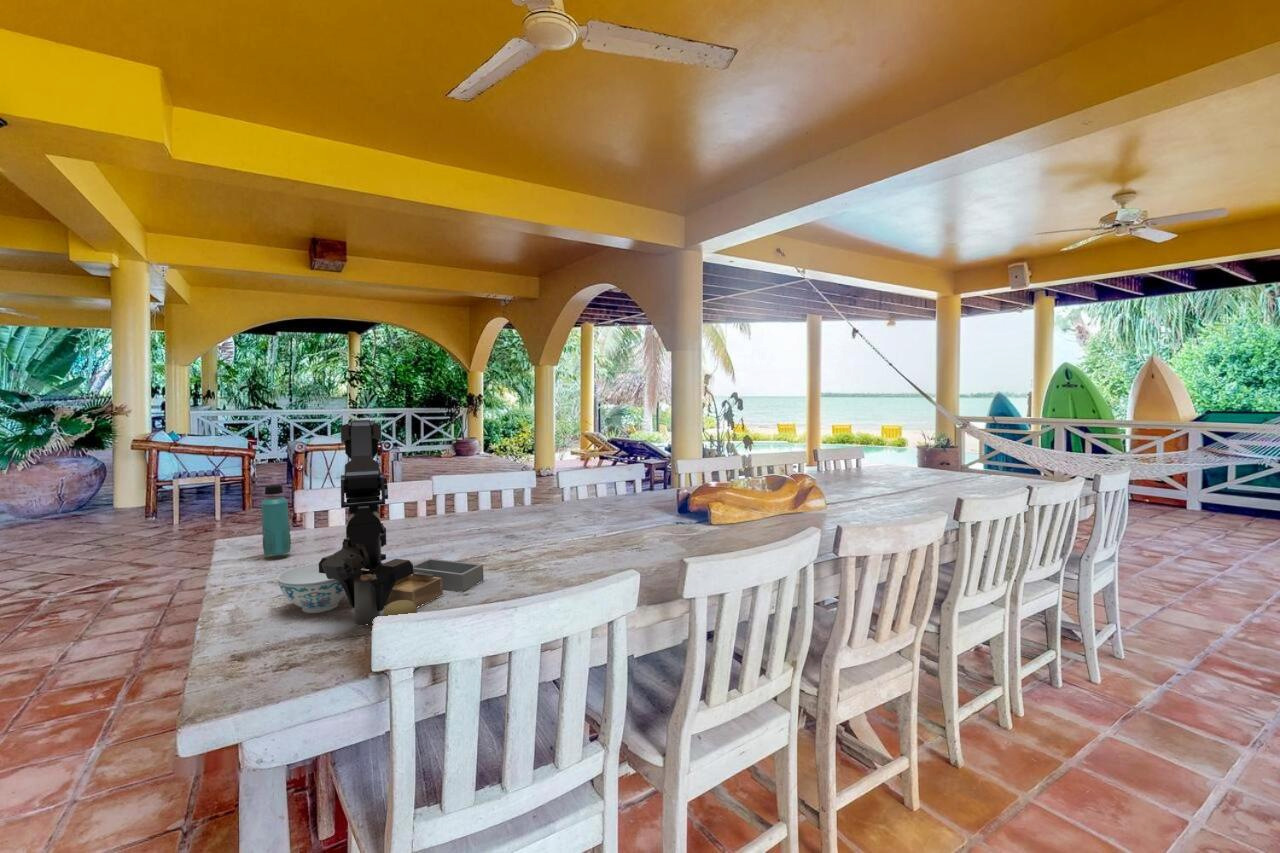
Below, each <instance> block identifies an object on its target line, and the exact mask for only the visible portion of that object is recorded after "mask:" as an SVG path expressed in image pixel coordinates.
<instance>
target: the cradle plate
mask: <svg viewBox="0 0 1280 853" xmlns="http://www.w3.org/2000/svg"><path fill="white" fill-rule="evenodd" d="M427 583H428V582H420V581H413V580H407V581H405V582H402V583H400V584H398V585H396V586H394V587H393V588H397V589H404V590H411V591H412V590H414V589H416V588H418V587H420V586H422V585H425V584H427Z"/></svg>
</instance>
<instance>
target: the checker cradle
mask: <svg viewBox="0 0 1280 853" xmlns="http://www.w3.org/2000/svg"><path fill="white" fill-rule="evenodd" d="M407 580H413V581H420V582H428V583H427V584H425V585H422V586H420V587H418V588H416V589H414V590H412V591H411V590H404V589H397V588H392V590H391V592H390V595H389V597H388V599H387V602H386V604H385V606H387V605H388V604H390V603H392V602H394V601H399V600H410V601H412V602H414V604H415V605H416V607H418V606H421V605H422V604H425V603H427V602H429V601H431V600H433V599H435V598H437V597H439V596H441V595H444V591H443V590H444V589H443V585H442V578H439V577H434V574H426V573H418V572H415V573H413V574H411V575H409V576H407V577H405V578H402V579H400V580H398V581H396V583H395V585H394V586H396V585H398V584H400V583H402V582H405V581H407ZM441 597H442V596H441ZM439 598H440V597H439ZM437 599H438V598H437ZM435 600H436V599H435ZM433 601H434V600H433ZM431 602H432V601H431ZM429 603H430V602H429ZM427 604H428V603H427ZM425 605H426V604H425Z"/></svg>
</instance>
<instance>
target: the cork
mask: <svg viewBox="0 0 1280 853" xmlns="http://www.w3.org/2000/svg"><path fill="white" fill-rule="evenodd" d="M382 611H383V612H382V617H383V616H388V615H398V614H408V613H417V614H418V609H417V607H416V605H415V604H414V602H412V601H410V600H399V601H394V602H392V603H390V604H388V605H387V606H386V607H384V608H383V610H382ZM418 669H420V667H419V668H415V670H414V672H416V671H417V670H418ZM383 674H384V675H385V676H388V675H387V673H383Z"/></svg>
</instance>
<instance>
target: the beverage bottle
mask: <svg viewBox="0 0 1280 853" xmlns="http://www.w3.org/2000/svg"><path fill="white" fill-rule="evenodd" d="M283 493H284V492H283V486H282V485H281V484H279V485H278V484H274V485H273V484H271V485H267V486H265V487H264V495H266V496H267V495H268V496H269V495H279V494H280V495H281V494H283ZM260 506H261V508H260V509H261V527H262V528H261V530H262V533H261V534H262V547H263V548H262V549H263V553H264V555H265V556H279V555H285V554H287V553H290V552H291V548H292V546H291V545H292V542H291V541H292V540H291V526H290V522H291V521H290V517H289V501H288V499H286V498H285V497H284V496H272V497H267V498H264V499H263V500H262V501H261V503H260Z"/></svg>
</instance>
